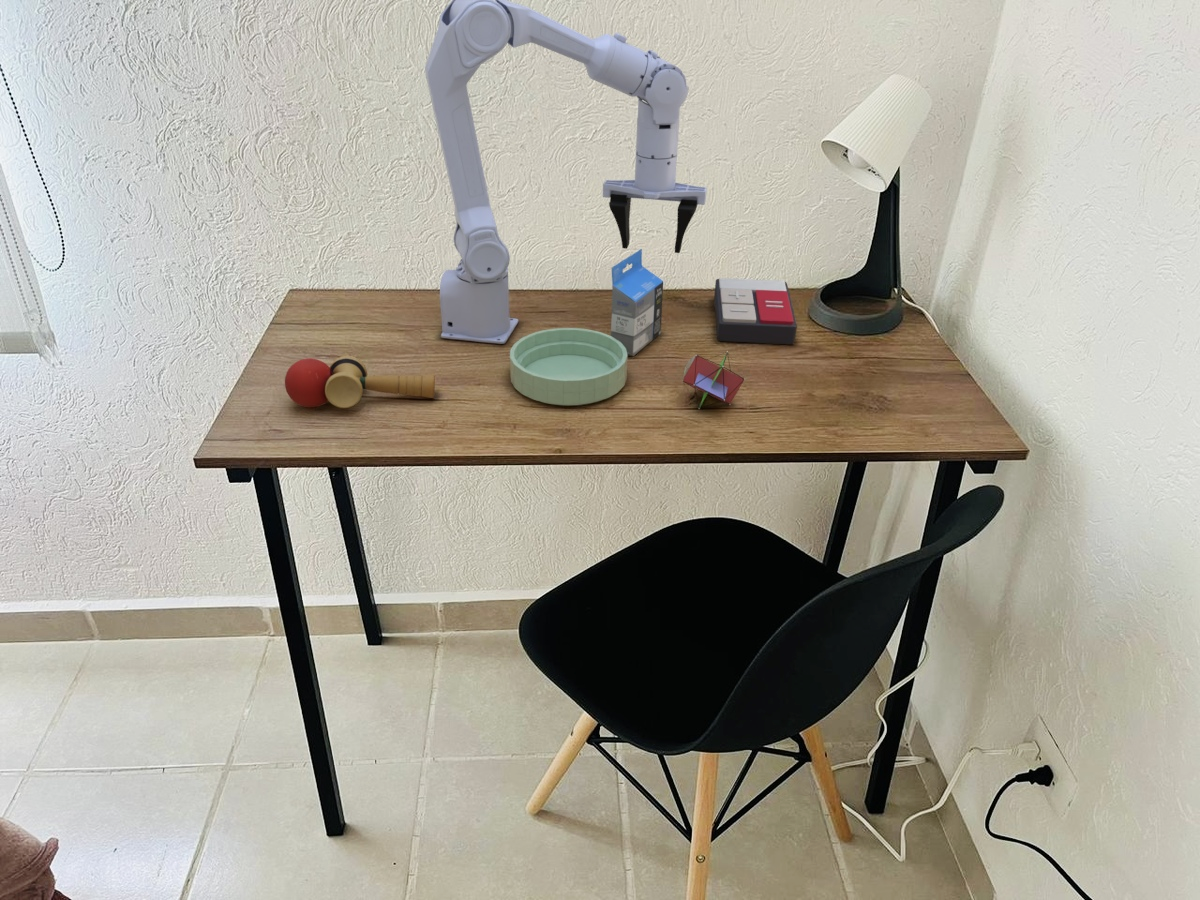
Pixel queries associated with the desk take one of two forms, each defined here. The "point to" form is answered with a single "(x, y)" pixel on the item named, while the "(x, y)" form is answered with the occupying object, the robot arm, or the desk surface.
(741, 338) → the calculator
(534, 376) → the bowl
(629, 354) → the tape cartridge
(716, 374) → the geometric puzzle
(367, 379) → the kendama
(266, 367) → the desk surface
